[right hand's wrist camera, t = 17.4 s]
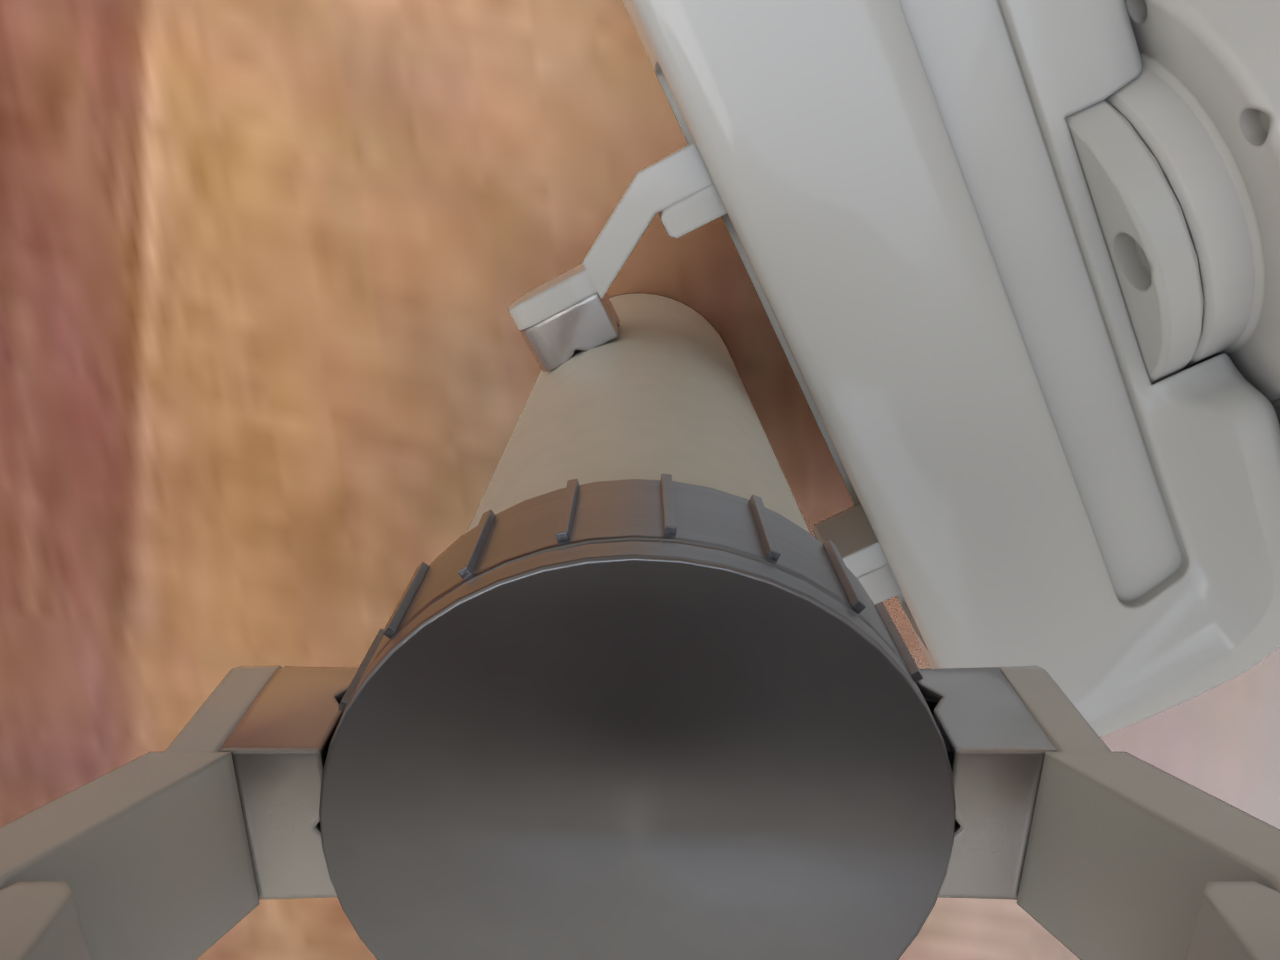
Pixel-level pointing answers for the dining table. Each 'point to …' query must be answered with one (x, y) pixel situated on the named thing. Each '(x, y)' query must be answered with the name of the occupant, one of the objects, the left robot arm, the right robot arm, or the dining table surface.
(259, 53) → the dining table surface
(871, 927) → the lid
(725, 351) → the jar
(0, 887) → the right robot arm
